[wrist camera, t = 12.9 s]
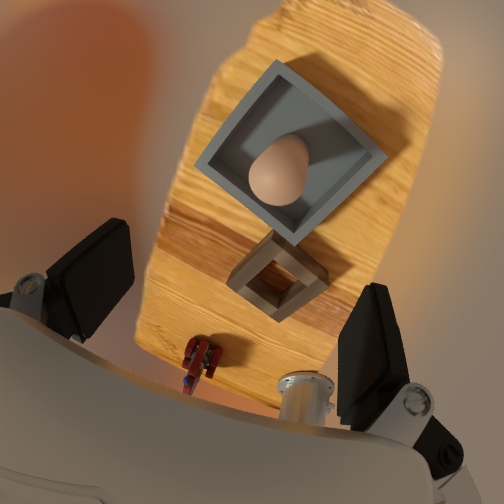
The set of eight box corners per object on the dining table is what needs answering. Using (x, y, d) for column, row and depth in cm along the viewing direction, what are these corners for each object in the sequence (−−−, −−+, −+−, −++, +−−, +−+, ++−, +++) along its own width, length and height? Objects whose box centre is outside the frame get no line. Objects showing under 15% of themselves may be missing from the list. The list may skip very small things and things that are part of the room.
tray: (379, 150, 27) (388, 157, 24) (296, 231, 35) (294, 246, 32) (280, 64, 25) (276, 58, 21) (206, 158, 33) (193, 165, 29)
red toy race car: (226, 341, 50) (210, 384, 42) (215, 370, 57) (201, 408, 49) (192, 328, 51) (172, 369, 42) (186, 359, 57) (170, 395, 49)
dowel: (312, 137, 28) (310, 157, 19) (306, 173, 30) (299, 210, 21) (274, 130, 28) (252, 147, 19) (269, 166, 31) (245, 199, 22)
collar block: (328, 271, 37) (328, 286, 35) (281, 307, 43) (279, 322, 40) (275, 226, 36) (271, 239, 33) (232, 270, 41) (225, 284, 38)
